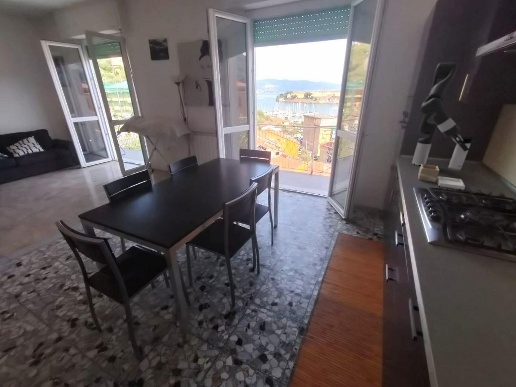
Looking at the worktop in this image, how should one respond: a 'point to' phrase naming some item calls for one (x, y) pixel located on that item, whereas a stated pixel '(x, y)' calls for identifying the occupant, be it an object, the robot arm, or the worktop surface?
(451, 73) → the robot arm
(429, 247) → the worktop surface
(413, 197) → the worktop surface
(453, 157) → the travel mug
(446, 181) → the tray
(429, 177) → the holder
